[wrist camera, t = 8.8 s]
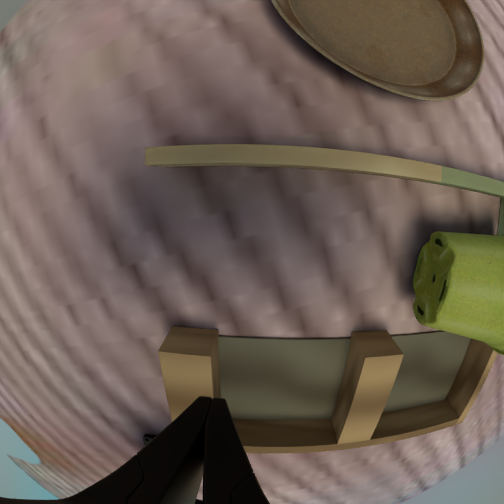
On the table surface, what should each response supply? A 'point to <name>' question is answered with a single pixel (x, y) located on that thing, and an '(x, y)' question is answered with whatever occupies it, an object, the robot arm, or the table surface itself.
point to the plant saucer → (395, 42)
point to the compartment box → (326, 342)
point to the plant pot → (462, 286)
